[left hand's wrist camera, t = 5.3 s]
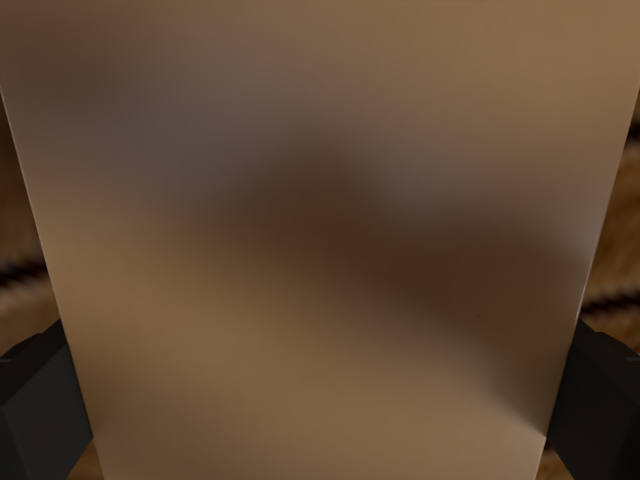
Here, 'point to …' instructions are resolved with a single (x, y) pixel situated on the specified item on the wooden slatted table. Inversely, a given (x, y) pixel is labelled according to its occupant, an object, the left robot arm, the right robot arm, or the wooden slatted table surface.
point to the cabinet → (319, 223)
